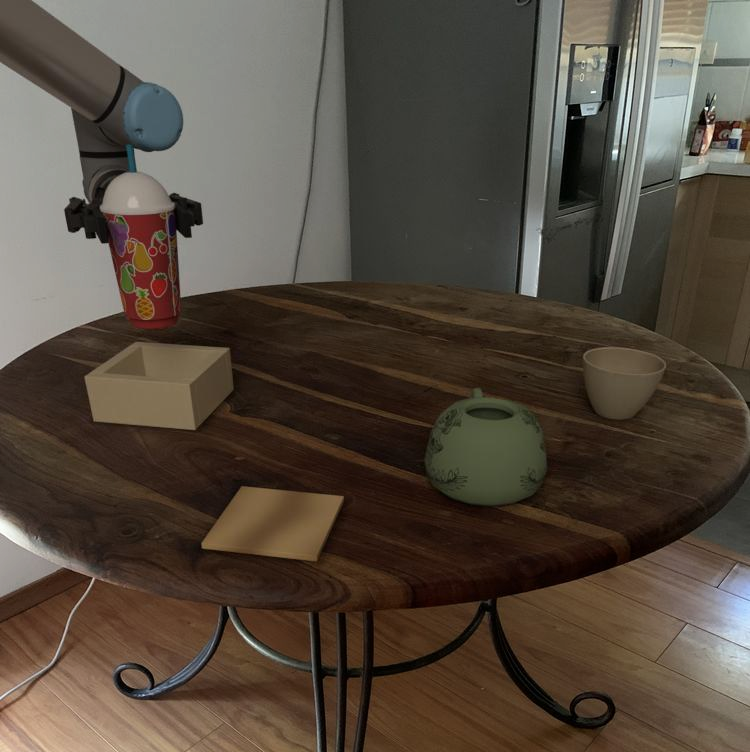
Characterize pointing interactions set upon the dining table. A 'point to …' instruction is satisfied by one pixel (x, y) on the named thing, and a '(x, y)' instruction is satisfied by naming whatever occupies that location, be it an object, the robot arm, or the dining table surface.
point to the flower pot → (620, 380)
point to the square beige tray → (160, 385)
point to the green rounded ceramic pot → (486, 452)
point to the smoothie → (143, 247)
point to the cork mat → (275, 523)
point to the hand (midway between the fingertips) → (145, 227)
